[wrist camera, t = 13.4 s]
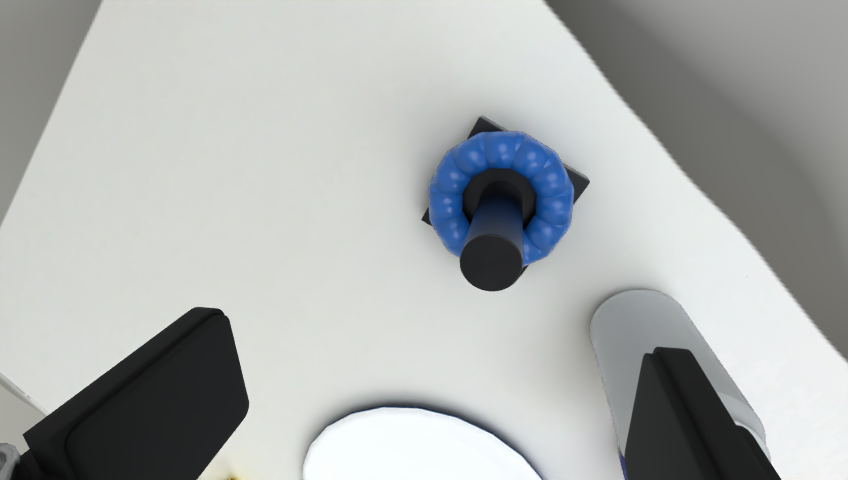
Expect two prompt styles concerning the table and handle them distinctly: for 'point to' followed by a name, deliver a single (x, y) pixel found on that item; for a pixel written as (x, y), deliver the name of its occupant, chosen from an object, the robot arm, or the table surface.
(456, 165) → the ring
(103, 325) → the table surface
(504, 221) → the peg stand
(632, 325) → the beverage can
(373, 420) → the plate
